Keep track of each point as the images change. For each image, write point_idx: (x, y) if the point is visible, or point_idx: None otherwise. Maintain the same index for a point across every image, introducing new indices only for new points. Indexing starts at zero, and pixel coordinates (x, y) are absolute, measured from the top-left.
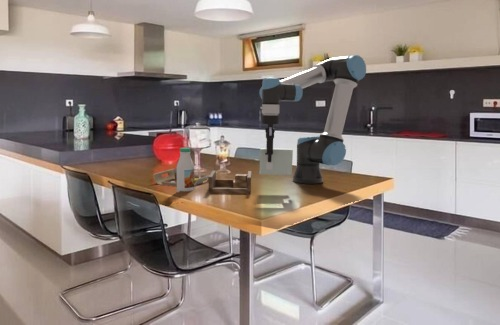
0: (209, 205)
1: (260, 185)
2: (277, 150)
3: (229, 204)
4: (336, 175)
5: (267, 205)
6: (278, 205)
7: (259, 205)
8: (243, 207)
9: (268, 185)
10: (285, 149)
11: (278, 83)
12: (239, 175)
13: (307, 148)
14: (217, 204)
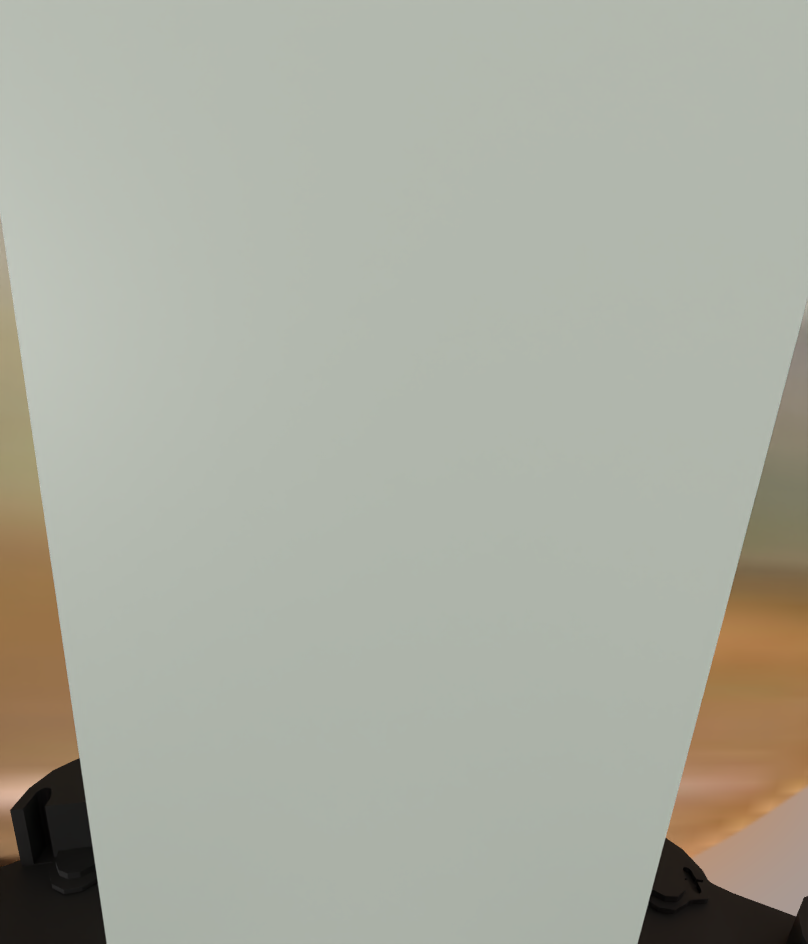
0: (692, 849)
1: (20, 522)
2: (621, 820)
3: (689, 753)
4: None
5: (769, 522)
6: (789, 440)
7: (756, 577)
8: (785, 677)
9: (2, 447)
10: (652, 308)
11: None
12: None
13: None
14: (676, 813)
